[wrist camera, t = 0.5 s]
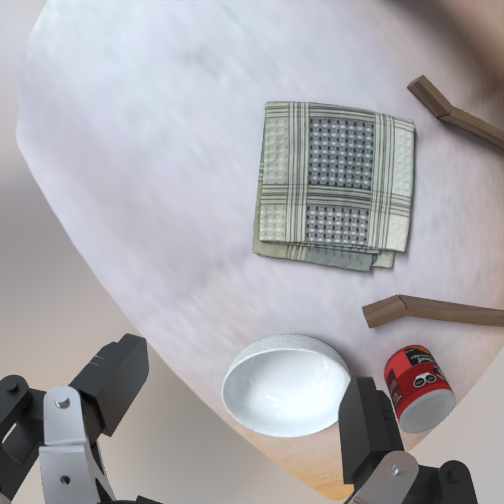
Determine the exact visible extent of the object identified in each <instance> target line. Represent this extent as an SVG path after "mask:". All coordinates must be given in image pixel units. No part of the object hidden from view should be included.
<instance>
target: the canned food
mask: <svg viewBox="0 0 504 504" xmlns="http://www.w3.org/2000/svg"><path fill="white" fill-rule="evenodd" d="M384 377H385V381H386V384H387V387H388V390H389V393H390V396H391V399H392V403H393V406H394V409H395V412H396V415H397V419H398V421H399V425H400V426H401V428H402V430H403V431H405V432H407V433H418V432H422V431H425V430H428V429H430V428H432V427H434V426H436V425H437V424H439V423H440V422H441V421H443V420H444V419H445V418H446V417H447V416H448V415H449V414H450V412H451V411H452V409H453V408H454V405H455V396H454V393H453V391H452V390H451V387H450V386H449V384H448V382H447V380H446V379H445V377H444V375H443V373H442V372H441V370H440V368H439V367H438V365H437V363H436V361H435V360H434V358H433V356H432V355H431V353H430V352H429V351H428V350H427V349H426V348H424V347H423V346H420V345H411V346H407V347H405V348H402V349H401V350H399V351H397V352H396V353H395V354H394V355H393V356H392V357H391V358H390V359H389V360H388V362H387V364H386V366H385V372H384Z"/></svg>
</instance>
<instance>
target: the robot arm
mask: <svg viewBox="0 0 504 504" xmlns="http://www.w3.org/2000/svg"><path fill="white" fill-rule="evenodd" d="M148 372H149V363H148V353H147V343H146V339H145V338H143V337H139V336H136V335H132V334H129V333H127V334H125V335H124V336H123V338H122V339H121V340H120V341H119V342H118V343H116V342H112V343H110V344H108V345H106V346H104V347H102V349H101V350H100V351H99V352H98V353H97V354H96V356H95V357H93V359H92V360H91V361H90V363H88V364H87V365H86V366H85V367H84V369H83V370H82V371H81V372H80V373H79V374H78V375H77V376H76V377H75V379H74V380H73V381H72V382H71V383H70V384H69V385H68V386H63V385H61V386H56V387H53V388H51V389H50V390H49V391H47V392H45V391H40V390H36V389H31V388H29V386H28V384H27V382H26V380H25V379H24V378H23V377H21V376H19V375H9V376H6V377H4V378H3V379H2V380H1V381H0V504H11V501H12V500H13V498H14V496H15V494H16V493H17V491H18V489H19V487H20V486H21V484H22V482H23V481H24V479H25V477H26V476H27V474H28V472H29V471H30V469H31V467H32V466H33V464H34V462H35V461H36V460H37V458H38V456H39V458H40V469H41V478H42V485H43V492H44V498H45V504H162V503H159V502H156V501H153V500H150V499H147V498H144V497H142V496H138V497H137V499H136V501H128V500H116V498H115V496H114V493H113V491H112V488H111V486H110V484H109V482H108V478H107V475H106V471H105V467H104V464H103V460H102V456H101V452H100V447H99V443H98V440H97V439H98V437H99V436H100V434H101V433H102V434H105V435H107V436H109V437H111V436H112V434H113V433H114V431H115V429H116V428H117V426H118V425H119V423H120V421H121V420H122V418H123V416H124V415H125V413H126V412H127V410H128V408H129V407H130V405H131V404H132V402H133V400H134V398H135V397H136V396H137V394H138V392H139V391H140V389H141V387H142V386H143V384H144V383H145V381H146V379H147V376H148ZM338 421H339V431H340V441H341V453H342V466H343V480H344V484H354V491H353V492H352V493H351V495H350V496H349V497H348V498H347V499H346V501H345V502H344V503H343V504H478V503H477V498H476V494H475V490H474V486H473V482H472V479H471V475H470V472H469V470H468V468H467V467H466V465H465V464H463V463H462V462H460V461H456V460H451V461H448V462H446V463H444V464H443V465H442V466H441V467H440V468H434V467H428V466H422V465H419V464H418V463H417V461H416V459H415V458H414V457H413V456H412V455H411V454H409V453H407V452H405V451H404V447H403V443H402V440H401V436H400V432H399V429H398V425H397V421H396V420H395V415H394V412H393V408H392V404H391V401H390V399H389V398H388V397H387V395H386V394H385V393H384V392H383V390H376V386H375V383H374V380H373V378H372V377H363V376H353V377H352V378H351V380H350V382H349V385H348V387H347V389H346V391H345V394H344V396H343V398H342V400H341V402H340V405H339V410H338ZM14 423H16V426H15V428H14V429H13V430H12V432H11V433H10V435H9V436H8V437H7V439H6V440H5V441H4V443H3V444H2V441H3V438H4V437H5V435H6V434H7V432H8V431H9V430H10V429H11V427H12V426H13V425H14Z"/></svg>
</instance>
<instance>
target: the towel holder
mask: <svg viewBox="0 0 504 504" xmlns="http://www.w3.org/2000/svg"><path fill="white" fill-rule="evenodd" d="M407 88H408V89H409V90H410V91H411V92H412V93H413V94H414V95H415V96H416V97H417V98H418V99H419V100H420V101H421V102H422V103H423V104H424V105H425V106H426V107H427V108H428V109H429V110H430V112H431V113H432V114H433V115H434V116H435V117H438V119H440V120H443V121H445V122H448V123H450V124H452V125H455V126H457V127H459V128H461V129H464V130H466V131H468V132H470V133H472V134H475V135H477V136H479V137H481V138H483V139H485V140H487V141H489V142H491V143H493V144H495V145H496V146H498V147H500V148H502V149H504V132H503V131H501V130H499V129H498V128H496V127H494V126H492V125H490V124H488V123H486V122H485V121H483V120H481V119H479V118H477V117H475V116H473V115H471V114H469V113H467V112H464V111H462V110H460V109H458V108H456V107H454V106H452V105H451V104H450V103H449V101H448V100H447V99H446V98H445V97H444V96H443V95H442V94H441V93H440V92H439V90H438V89H437V88H436V87H435V86H434V85H433V84H432V83H431V82H430V81H429V80H428V79H427V78H426V77H425V76H424V75H422V76H420V77H418V78H417V79H415V80H413V81H412V82H411V83H410V84H409V85H408V87H407ZM362 310H363V314H364V317H365V319H366V321H367V324H368V326H369V329H370V328H373V327H376V326H379V325H381V324H384V323H387V322H390V321H393V320H395V319H398V318H401V317H403V316H413V317H421V318H428V319H436V320H445V321H453V322H462V323H471V324H481V325H491V326H502V327H504V310H497V309H490V308H483V307H476V306H469V305H463V304H456V303H450V302H443V301H437V300H431V299H424V298H418V297H412V296H406V295H399V297H398V295H395V296H392V297H389V298H387V299H384V300H381V301H378V302H376V303H373V304H370V305H367V306H364V307H362Z"/></svg>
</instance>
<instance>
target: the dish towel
mask: <svg viewBox="0 0 504 504" xmlns="http://www.w3.org/2000/svg"><path fill="white" fill-rule="evenodd" d="M265 110H266V114H265V123H264V131H263V142H262V151H261V160H260V169H259V180H258V191H257V202H256V211H255V219H254V239H253V253H257V254H260V255H264V256H270V257H278V258H284V259H285V258H287V259H291V260H299V261H305V262H312V263H316V264H322V265H327V266H335V267H339V268H343V269H350V270H355V271H368V272H369V271H370V267H371V266H380V267H386V268H392V264H393V260H394V256H395V250H397V251H402V252H404V251H405V247H406V242H407V236H408V230H409V221H410V208H411V197H412V188H413V163H414V162H413V155H414V130H415V125H414V121H413V120H410V119H403V118H397V117H394V116H390V115H386V114H381V113H377V112H373V111H369V110H364V109H358V108H351V107H344V106H338V105H330V104H320V103H307V102H287V101H282V102H278V101H270V102H267V103H266V104H265Z"/></svg>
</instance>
